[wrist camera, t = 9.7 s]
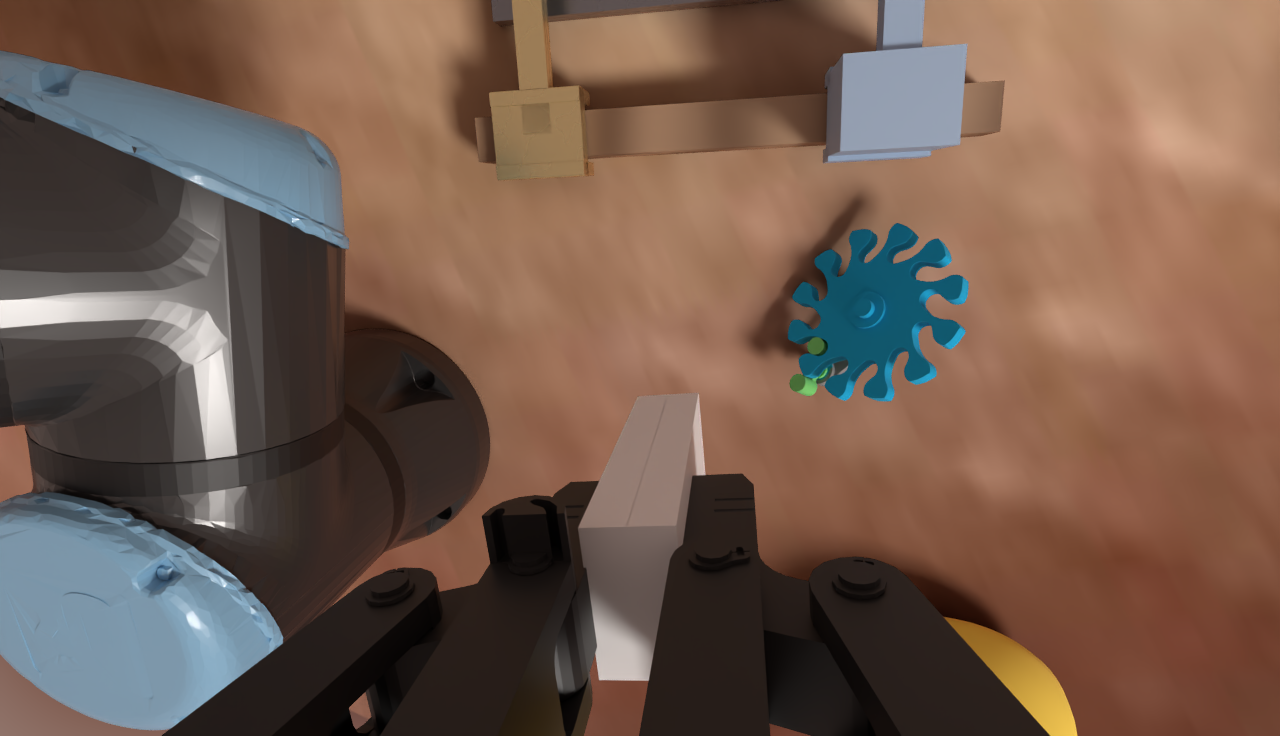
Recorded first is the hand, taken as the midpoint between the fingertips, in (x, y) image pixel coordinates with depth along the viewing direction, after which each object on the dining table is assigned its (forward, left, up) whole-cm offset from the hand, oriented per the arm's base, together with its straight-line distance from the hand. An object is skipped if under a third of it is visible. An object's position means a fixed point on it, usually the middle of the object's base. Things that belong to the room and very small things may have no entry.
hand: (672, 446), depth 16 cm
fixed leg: (-9, +14, -24) cm, 29 cm away
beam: (+1, +9, -26) cm, 27 cm away
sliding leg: (+8, +14, -24) cm, 29 cm away
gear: (+8, -1, -26) cm, 27 cm away
